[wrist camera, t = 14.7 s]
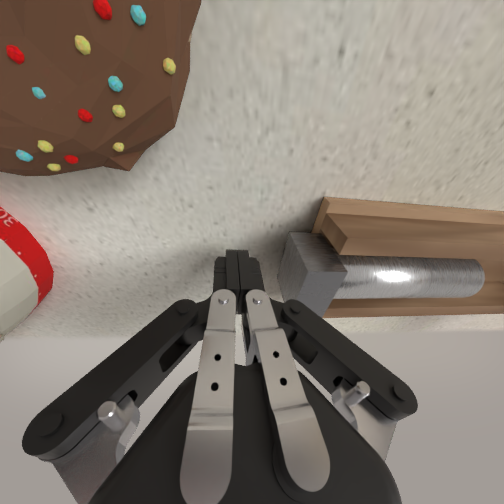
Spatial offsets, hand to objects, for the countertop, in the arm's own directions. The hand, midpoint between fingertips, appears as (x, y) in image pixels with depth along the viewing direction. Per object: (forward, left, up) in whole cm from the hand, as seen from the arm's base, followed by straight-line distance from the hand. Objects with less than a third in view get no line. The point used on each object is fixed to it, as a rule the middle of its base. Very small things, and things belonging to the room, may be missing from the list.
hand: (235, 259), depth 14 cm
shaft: (0, +11, -1) cm, 11 cm away
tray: (0, +21, -2) cm, 21 cm away
